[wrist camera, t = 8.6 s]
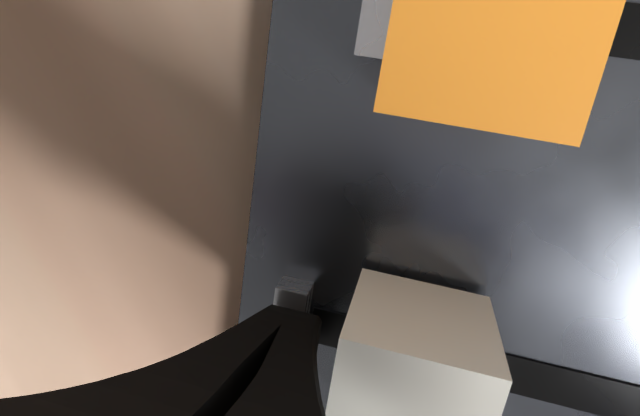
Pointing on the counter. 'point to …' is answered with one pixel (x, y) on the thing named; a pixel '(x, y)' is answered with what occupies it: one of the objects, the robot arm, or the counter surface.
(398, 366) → the fader
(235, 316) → the counter surface
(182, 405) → the robot arm
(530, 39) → the fader
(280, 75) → the mixer panel
